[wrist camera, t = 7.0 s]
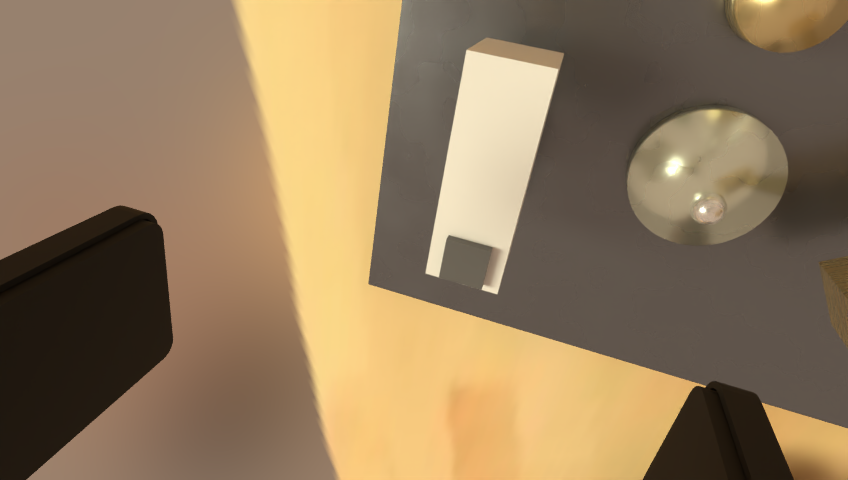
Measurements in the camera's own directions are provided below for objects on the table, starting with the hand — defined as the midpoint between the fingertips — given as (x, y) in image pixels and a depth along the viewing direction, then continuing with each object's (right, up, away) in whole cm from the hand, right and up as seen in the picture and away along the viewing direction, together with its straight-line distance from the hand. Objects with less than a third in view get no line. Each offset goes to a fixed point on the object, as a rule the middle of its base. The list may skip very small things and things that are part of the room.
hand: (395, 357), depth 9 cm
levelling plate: (+11, +5, +12) cm, 17 cm away
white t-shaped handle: (+4, +6, +11) cm, 13 cm away
